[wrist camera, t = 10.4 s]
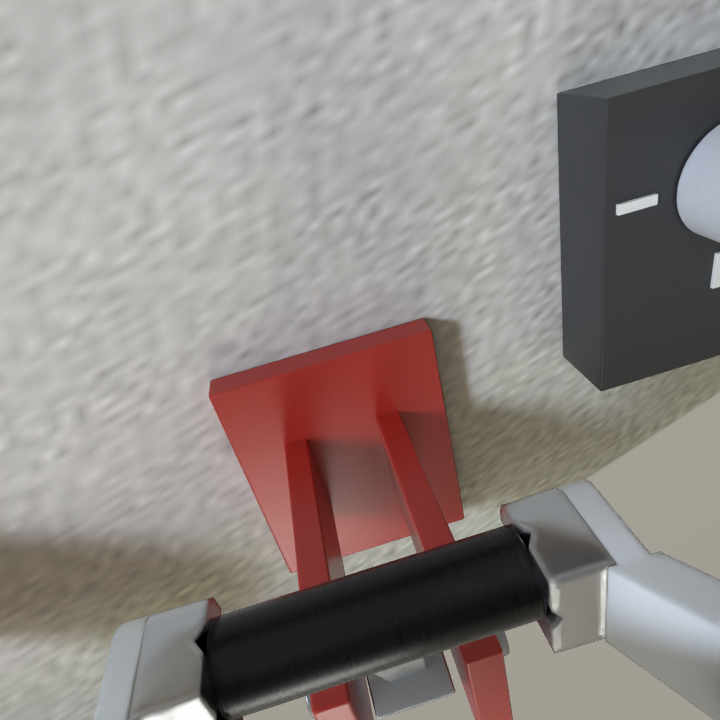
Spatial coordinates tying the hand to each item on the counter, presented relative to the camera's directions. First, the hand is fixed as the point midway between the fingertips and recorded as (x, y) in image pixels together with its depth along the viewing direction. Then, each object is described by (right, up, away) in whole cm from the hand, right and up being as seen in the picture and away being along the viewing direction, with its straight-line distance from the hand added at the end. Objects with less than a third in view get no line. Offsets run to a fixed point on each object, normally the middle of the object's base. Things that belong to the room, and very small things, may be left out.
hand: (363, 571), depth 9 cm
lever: (0, -2, +4) cm, 4 cm away
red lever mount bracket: (-1, 0, +15) cm, 15 cm away
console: (+12, +10, +12) cm, 20 cm away
